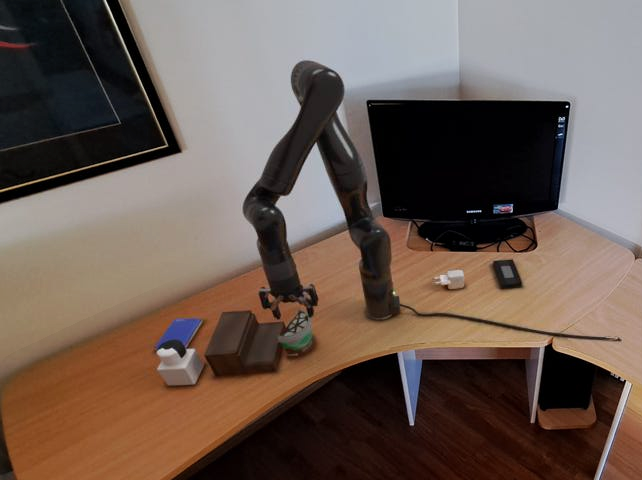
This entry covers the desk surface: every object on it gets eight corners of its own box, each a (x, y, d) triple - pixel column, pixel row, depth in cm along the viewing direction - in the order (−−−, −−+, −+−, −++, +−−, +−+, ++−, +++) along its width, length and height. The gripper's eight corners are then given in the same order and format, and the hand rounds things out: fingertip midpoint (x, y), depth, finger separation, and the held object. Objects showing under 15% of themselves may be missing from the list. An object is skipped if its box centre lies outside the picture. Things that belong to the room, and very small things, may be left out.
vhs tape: (512, 263, 168) (512, 259, 167) (521, 287, 158) (522, 282, 156) (493, 265, 167) (493, 260, 166) (501, 289, 157) (501, 284, 155)
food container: (305, 364, 128) (297, 340, 121) (285, 360, 129) (276, 337, 122) (325, 334, 137) (318, 311, 131) (306, 331, 138) (299, 307, 131)
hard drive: (174, 318, 138) (153, 347, 129) (201, 318, 138) (182, 347, 129) (176, 321, 139) (156, 351, 130) (203, 321, 139) (184, 351, 130)
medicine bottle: (178, 365, 126) (160, 336, 118) (205, 364, 127) (188, 335, 119) (167, 386, 121) (147, 357, 113) (195, 385, 121) (176, 355, 113)
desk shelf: (286, 329, 138) (279, 308, 132) (275, 371, 126) (266, 350, 120) (232, 333, 136) (222, 312, 130) (215, 376, 124) (203, 355, 118)
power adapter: (433, 292, 154) (432, 279, 150) (431, 284, 157) (430, 271, 154) (464, 289, 156) (465, 276, 152) (462, 280, 159) (462, 267, 156)
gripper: (247, 281, 110) (265, 327, 121) (307, 278, 112) (319, 324, 123) (255, 263, 116) (271, 309, 126) (311, 260, 118) (323, 306, 128)
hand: (295, 316), depth 124 cm, fingers open, 8 cm apart
